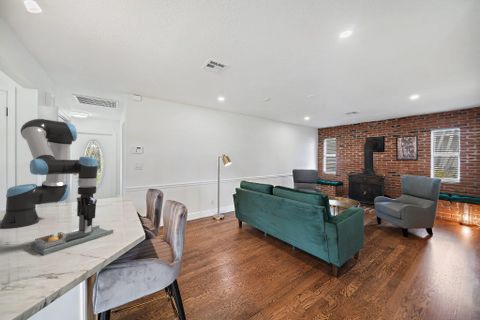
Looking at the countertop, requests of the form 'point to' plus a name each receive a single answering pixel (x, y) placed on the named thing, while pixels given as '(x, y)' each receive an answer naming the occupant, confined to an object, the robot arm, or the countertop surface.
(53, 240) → the ball
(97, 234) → the grey-green channel tray
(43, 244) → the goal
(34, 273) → the countertop surface
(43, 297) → the countertop surface
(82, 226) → the block
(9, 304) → the countertop surface
